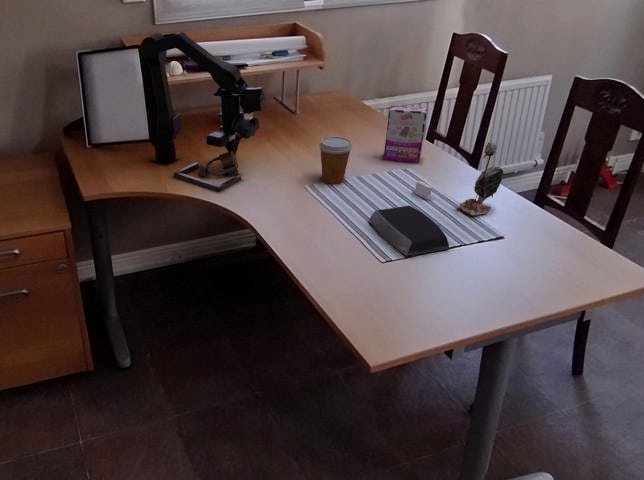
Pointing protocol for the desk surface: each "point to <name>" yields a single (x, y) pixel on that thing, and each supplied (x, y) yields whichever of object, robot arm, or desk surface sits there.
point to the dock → (182, 175)
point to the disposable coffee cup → (334, 158)
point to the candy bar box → (405, 133)
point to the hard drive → (409, 230)
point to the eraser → (423, 190)
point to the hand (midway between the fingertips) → (233, 157)
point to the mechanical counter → (227, 164)
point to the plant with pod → (484, 185)
